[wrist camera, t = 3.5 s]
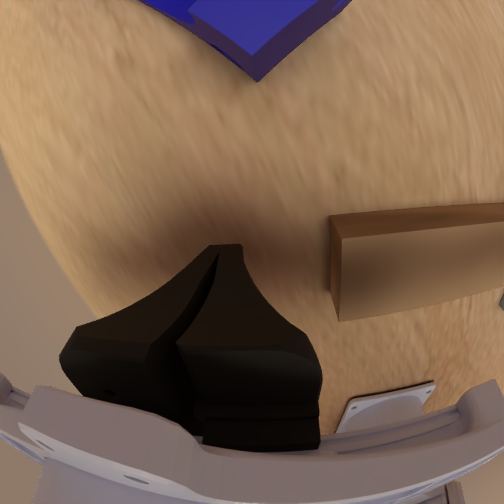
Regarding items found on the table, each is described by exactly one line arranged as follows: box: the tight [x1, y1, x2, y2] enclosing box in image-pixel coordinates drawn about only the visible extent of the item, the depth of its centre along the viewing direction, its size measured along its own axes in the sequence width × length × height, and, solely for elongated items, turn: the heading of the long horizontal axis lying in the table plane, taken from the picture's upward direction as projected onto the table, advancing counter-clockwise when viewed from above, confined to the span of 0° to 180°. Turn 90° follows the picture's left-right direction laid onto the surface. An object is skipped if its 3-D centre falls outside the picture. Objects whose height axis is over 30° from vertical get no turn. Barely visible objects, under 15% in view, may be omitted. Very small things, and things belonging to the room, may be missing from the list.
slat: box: [330, 203, 504, 322], centre depth 11 cm, size 4×12×2 cm, turn 99°
